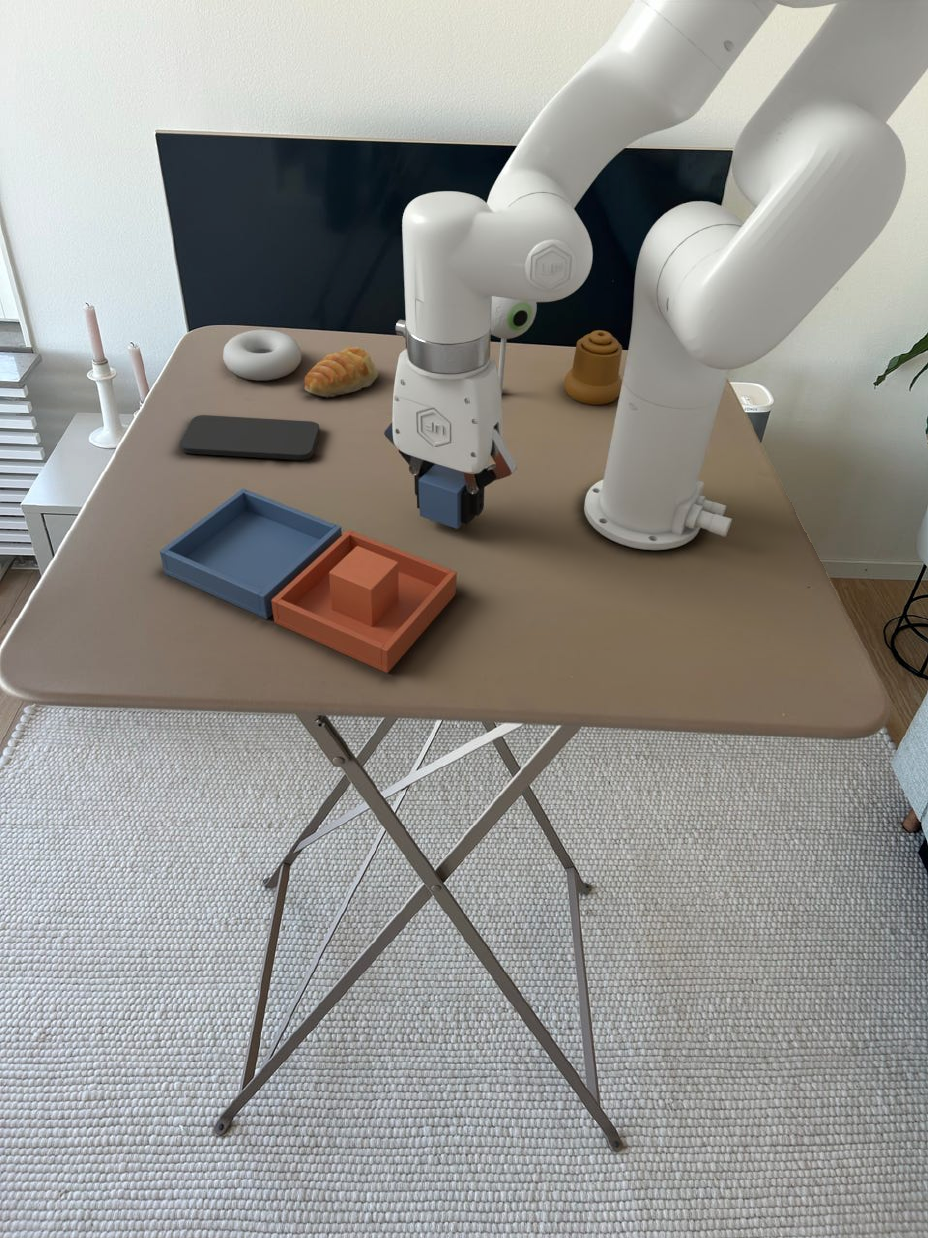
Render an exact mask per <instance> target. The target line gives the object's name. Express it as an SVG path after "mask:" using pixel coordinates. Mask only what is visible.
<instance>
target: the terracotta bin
mask: <svg viewBox="0 0 928 1238" xmlns="http://www.w3.org/2000/svg"><path fill="white" fill-rule="evenodd" d="M356 546H359V547H361V548H364V549H366V550H369V551H371V552H374V553H376V554H379V555H382V556H384V557H387V558H389V559H392V560H394V561H397V562H398V600H397V601H396V602H395V603H394V604H393V605H392V606H391V607H390V608H389V610H388V611H387V612H386V613H385V614H384V615H383V616H382V617H381V618H380V619H379V620H378V621H377V623H376V624H375V625H374V626H373V627H372V626H369V625H367V624H365V623H363V622H360V621H358V620H356V619H353V618H351V617H349V616H346V615H344V614H342V613H339V612H337V611H335V610H332V606H331V592H330V577H329V572H330V571H331V570H332V569H333V568H334V567H335V566H336V565H337V564H338V563H340V562H341V561H342V560H343V559H344V558H345V557H346V556H347V555H348V554H349V553H350V552H351V551H352V550H353V549H354V548H355V547H356ZM457 575H458V572H457V571H455V570H452V569H450V568H448V567H445V566H442V565H440V564H437V563H434V562H432V561H429V560H426V559H424V558H422V557H420V556H416V555H414V554H411V553H409V552H407V551H404V550H401V549H399V548H397V547H393V546H391V545H389V544H386V543H383V542H381V541H379V540H376V539H373V538H371V537H368V536H365V535H363V534H361V533H359V532H356V531H353V530H351V529H347V530H346V531H345V532H344V533H342V536H341V537H340V538H339V539H338V540H337V541H335V542H334V543H333V544H332V545H331V546H330V547H329V548H328V549H327V550H326V551H325V552H323V553H322V554H321V555H320V556H319V557H318V558H317V559H316V560H315V561H314V562H313V563H311V564H310V565H309V566H308V567H307V568H306V569H305V570H304V571H303V572H302V573H300V574H299V575H298V576H297V577H296V578H295V579H294V580H293V581H292V582H291V583H290V584H288V585H287V586H286V587H285V588H284V589H283V590H282V591H281V592H280V593H279V594H278V595H276V596H275V597H274V598H273V599H272V600H271V602H272V609H273V614H272V617H273V623H274V624H276V625H279V626H281V627H282V628H284V629H287V630H290V631H292V632H294V633H297V634H298V635H300V636H303V637H305V638H308V639H309V640H312V641H314V642H317V643H318V644H321V645H323V646H325V647H328V648H330V649H332V650H335V651H336V652H339V653H341V654H343V655H346V656H348V657H350V658H352V659H355V660H357V661H359V662H361V663H362V664H366V665H368V666H370V667H372V668H375V669H377V670H379V671H381V672H384V673H385V674H389V672H391V670H392V669H393V667H394V666H395V665H396V664H397V663H398V662H399V661H400V660H401V659H402V658H403V656H404V655H405V654H406V653H407V652H408V650H409V649H410V648H411V647H412V646H413V645H414V643H415V642H416V641H417V640H418V639H419V637H421V635H422V634H423V633H424V632H425V631H426V629H427V628H428V627H429V626H430V625H431V624H432V622H433V621H434V620H435V619H436V618H437V617H438V615H439V614H440V613H441V612H442V611H443V609H444V608H445V607H446V606H447V605H448V604H449V603H450V601H451V600H452V599H453V598H454V597H455V595H456V594H457V593H456V591H457V590H456V589H457Z"/></svg>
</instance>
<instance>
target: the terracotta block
mask: <svg viewBox="0 0 928 1238" xmlns="http://www.w3.org/2000/svg"><path fill="white" fill-rule="evenodd" d="M329 577H330V592H331V606H332V610H335V611H337V612H339V613H342V614H344V615H346V616H349V617H351V618H353V619H356V620H358V621H360V622H363V623H365V624H367V625H369V626H372V627H373V626H374V625H375V624H376V623H377V621H378V620H379V619H380V618H381V617H382V616H383V615H384V614H385V613H386V612H387V611H388V610H389V608H390V607H391V606H392V605H393V604H394V603H395V602H396V601H397V600H398V562H397V561H394V560H392V559H389V558H387V557H384V556H382V555H379V554H376V553H374V552H371V551H369V550H366V549H364V548H361V547H359V546H356V547H355V548H354V549H353V550H352V551H351V552H350V553H349V554H348V555H347V556H346V557H345V558H344V559H343V560H342V561H341V562H340V563H338V564H337V565H336V566H335V567H334V568H333V569H332V570H331V571H330V572H329Z"/></svg>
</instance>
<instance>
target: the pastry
mask: <svg viewBox="0 0 928 1238" xmlns="http://www.w3.org/2000/svg"><path fill="white" fill-rule="evenodd" d="M378 377H379V376H378V370H377V368H376V365H375V363H374V362H373V360H372V358H371V356H370V353H368V352H367V351H366V350H365V349H363V348H361V347H360V346H355V347H353V346H349V345H348V346H347V347H346V348H344V349H343V350H340V351H336V352H332V353H328V354H327V355H324V356H323V358H322V359H321V360H320V361H319V362H317V363H316V364H315V365H314V366H313V367H312V368H311V369H310V370H309V371H308V373H307V374H306V375H305V376H304V390H305V391H307V392H308V393H310V394H312V395H316V396H319V397H325V398H329V397H331V398H334V397H336V396H339V395H342V396H343V395H347V394H350V393H354V392H357V391H359V390H362V389H363V388H367V387H370V386H372V384H374V382H375V381H376V379H377V378H378Z"/></svg>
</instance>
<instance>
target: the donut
mask: <svg viewBox="0 0 928 1238" xmlns="http://www.w3.org/2000/svg"><path fill="white" fill-rule="evenodd" d="M222 360H223V363H224V364H225V366H226V368H227V369H228V370H229V371H230V372H232V373H233V374H234V375H235V376H237V377H238V378H239V377H240V378H243V379H245V380H250V381H273V380H278V379H280V378H281V379H282V378H284V377H286V376H288V375H290V374H292V373H293V372H294V371H295V370H297V368H298V367H299V365H300V363H301V361H302V350H301V347H300V345H299V343H298V342H297V340H296V339H294V338H293V337H292V336H290V335H288V334H287V333H285V332H281V331H278V330H272V329H253V330H249V331H245V332H241V333H238V334H237V335H235V336H233V337H232V338H230V339H229V341H228V342H227V343H226V344H225V345H224V348H223V353H222Z"/></svg>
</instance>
